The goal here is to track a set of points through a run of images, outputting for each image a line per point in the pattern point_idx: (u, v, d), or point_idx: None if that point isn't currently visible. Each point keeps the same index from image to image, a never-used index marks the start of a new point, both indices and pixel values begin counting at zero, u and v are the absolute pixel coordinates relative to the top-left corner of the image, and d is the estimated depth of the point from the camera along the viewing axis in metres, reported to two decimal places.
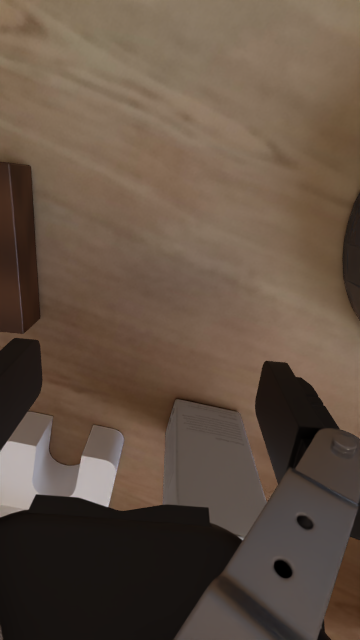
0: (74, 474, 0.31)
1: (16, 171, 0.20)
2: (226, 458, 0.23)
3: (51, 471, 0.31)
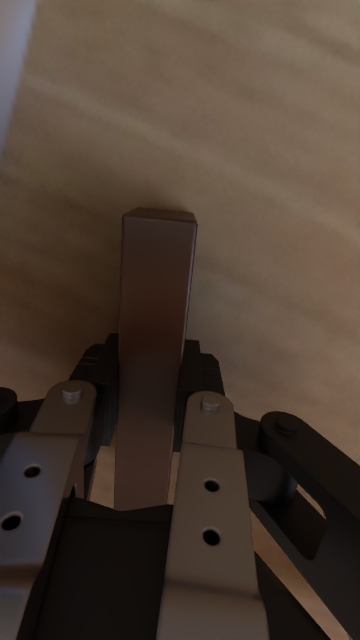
0: None
1: None
2: None
3: None
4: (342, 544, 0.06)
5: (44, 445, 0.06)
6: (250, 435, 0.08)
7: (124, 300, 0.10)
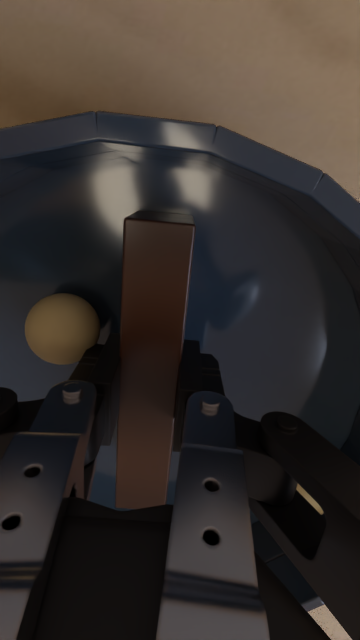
0: None
1: None
2: None
3: None
4: (342, 544, 0.06)
5: (44, 445, 0.06)
6: (250, 435, 0.08)
7: (125, 300, 0.10)
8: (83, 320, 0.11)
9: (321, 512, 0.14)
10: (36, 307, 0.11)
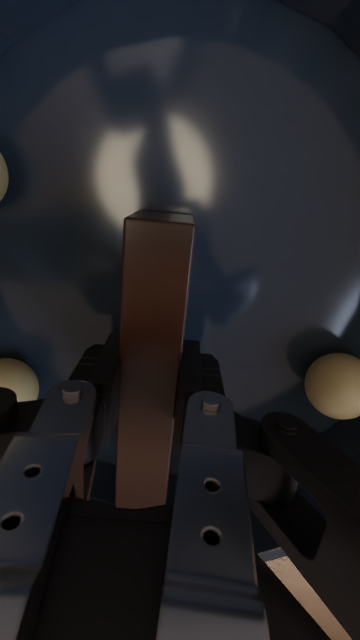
0: None
1: None
2: None
3: None
4: (342, 544, 0.06)
5: (44, 445, 0.06)
6: (250, 435, 0.08)
7: (125, 300, 0.10)
8: None
9: (347, 404, 0.12)
10: None
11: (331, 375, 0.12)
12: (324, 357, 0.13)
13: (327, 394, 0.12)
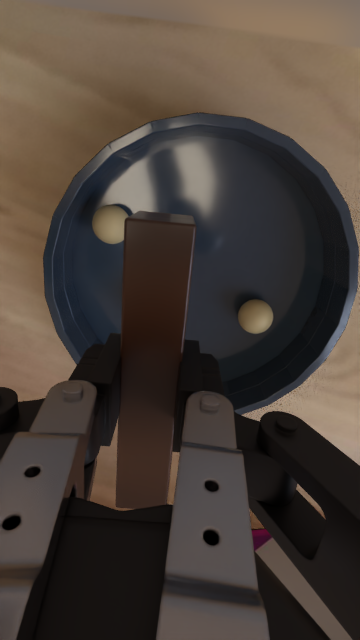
0: None
1: None
2: None
3: None
4: (342, 544, 0.06)
5: (44, 445, 0.06)
6: (250, 435, 0.08)
7: (126, 300, 0.10)
8: (98, 209, 0.23)
9: (239, 310, 0.26)
10: None
11: None
12: None
13: None
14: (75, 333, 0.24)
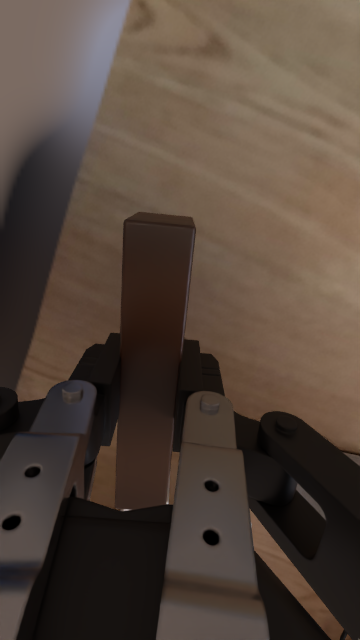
0: None
1: None
2: None
3: None
4: (342, 544, 0.06)
5: (44, 445, 0.06)
6: (250, 435, 0.08)
7: (125, 301, 0.10)
8: None
9: None
10: None
11: None
12: None
13: None
14: None
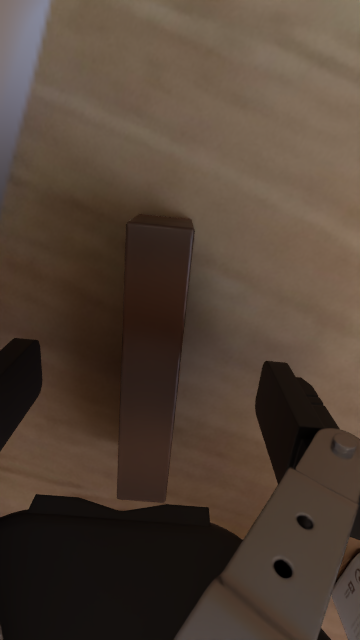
0: None
1: None
2: None
3: None
4: None
5: None
6: None
7: (127, 299, 0.11)
8: None
9: None
10: None
11: None
12: None
13: None
14: None
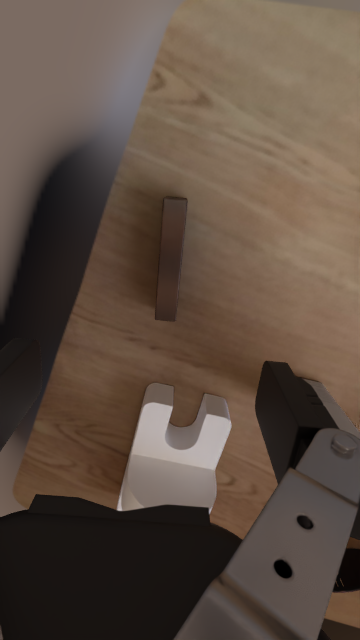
0: (188, 433, 0.39)
1: None
2: None
3: (170, 430, 0.39)
4: None
5: None
6: None
7: (163, 226, 0.29)
8: None
9: None
10: None
11: None
12: None
13: None
14: None
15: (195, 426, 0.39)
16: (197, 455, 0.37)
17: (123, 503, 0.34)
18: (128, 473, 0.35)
